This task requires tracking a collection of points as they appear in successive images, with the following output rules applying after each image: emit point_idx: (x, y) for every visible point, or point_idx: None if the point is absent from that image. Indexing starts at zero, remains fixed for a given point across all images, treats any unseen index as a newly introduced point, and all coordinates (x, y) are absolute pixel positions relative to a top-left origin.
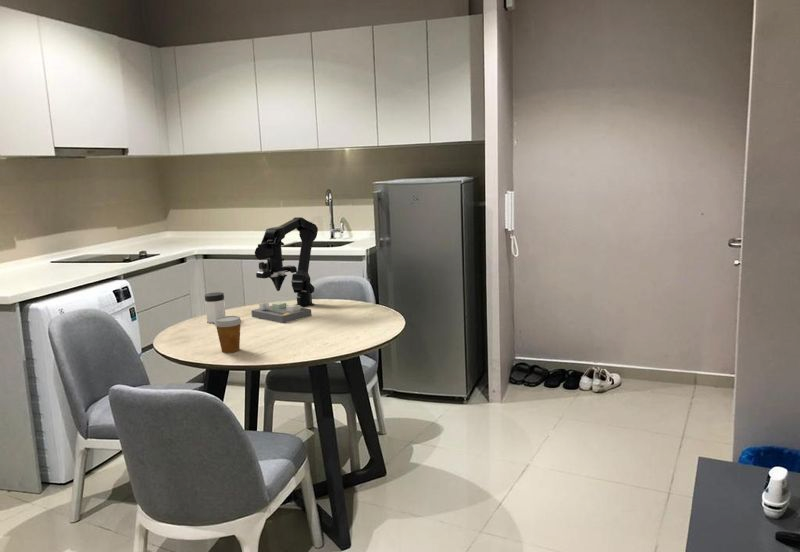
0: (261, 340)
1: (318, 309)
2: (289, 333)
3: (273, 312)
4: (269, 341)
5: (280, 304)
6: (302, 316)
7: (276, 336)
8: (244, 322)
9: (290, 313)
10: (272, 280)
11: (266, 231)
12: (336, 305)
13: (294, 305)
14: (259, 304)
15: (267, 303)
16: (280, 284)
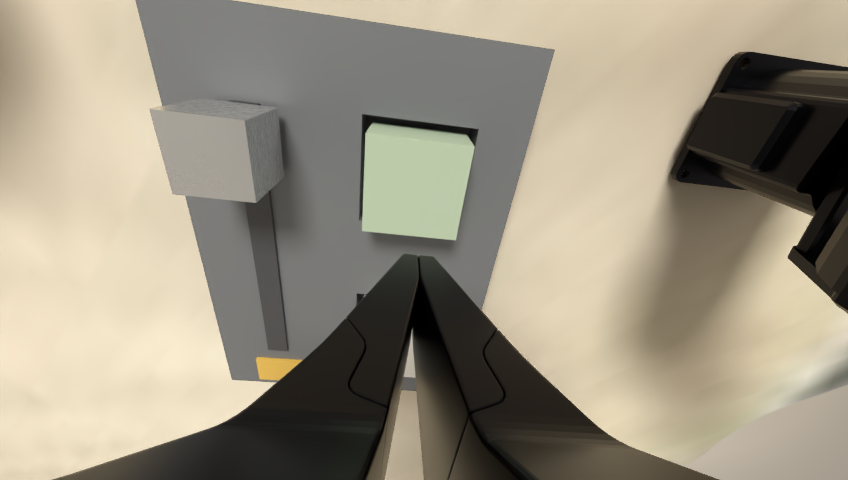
0: (34, 441)
1: (610, 301)
2: None
3: (255, 270)
4: (61, 463)
5: (387, 233)
6: None
7: (113, 445)
8: (46, 112)
9: None
10: (272, 408)
11: None
12: (731, 321)
13: (409, 351)
14: (166, 109)
15: (241, 196)
16: (420, 404)
